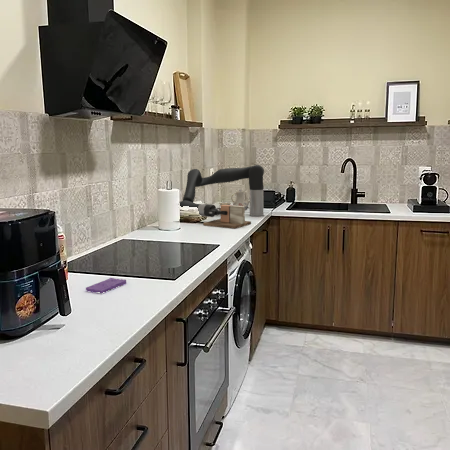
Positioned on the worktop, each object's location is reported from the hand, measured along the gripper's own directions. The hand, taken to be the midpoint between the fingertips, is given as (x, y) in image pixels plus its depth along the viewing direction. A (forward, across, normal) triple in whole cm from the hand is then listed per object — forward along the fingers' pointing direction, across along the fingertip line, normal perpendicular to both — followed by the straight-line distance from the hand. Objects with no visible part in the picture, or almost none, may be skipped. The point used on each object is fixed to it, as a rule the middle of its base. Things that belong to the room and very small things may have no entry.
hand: (229, 212), depth 271 cm
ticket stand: (-2, 0, -8) cm, 8 cm away
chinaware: (-30, -57, -8) cm, 65 cm away
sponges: (+29, +122, -8) cm, 126 cm away
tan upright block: (-2, 0, -6) cm, 6 cm away
